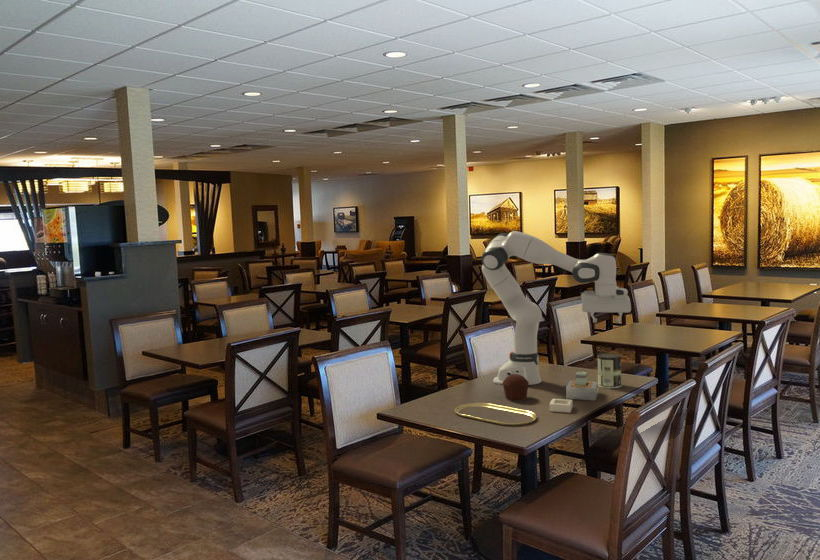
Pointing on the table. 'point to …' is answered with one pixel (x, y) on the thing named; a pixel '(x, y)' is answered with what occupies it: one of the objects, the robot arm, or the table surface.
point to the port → (582, 391)
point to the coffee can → (609, 370)
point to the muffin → (515, 387)
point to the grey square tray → (561, 405)
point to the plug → (581, 378)
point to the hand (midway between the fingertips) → (606, 322)
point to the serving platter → (496, 408)
